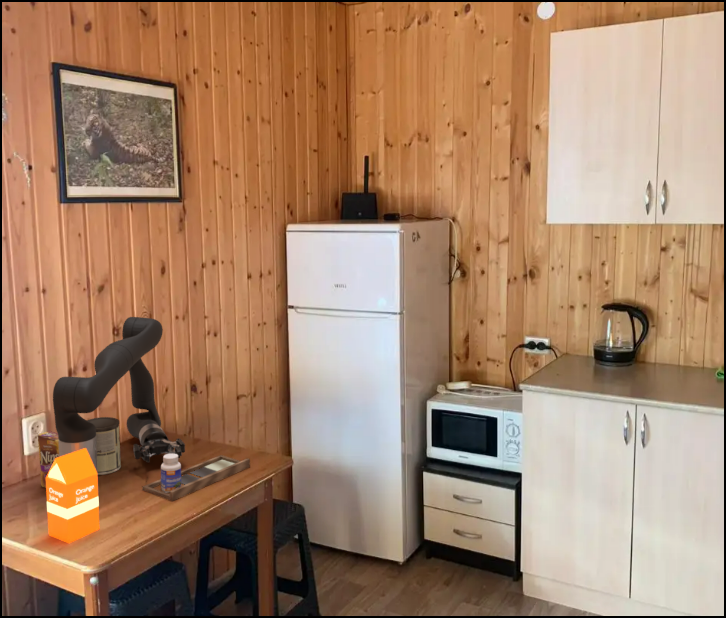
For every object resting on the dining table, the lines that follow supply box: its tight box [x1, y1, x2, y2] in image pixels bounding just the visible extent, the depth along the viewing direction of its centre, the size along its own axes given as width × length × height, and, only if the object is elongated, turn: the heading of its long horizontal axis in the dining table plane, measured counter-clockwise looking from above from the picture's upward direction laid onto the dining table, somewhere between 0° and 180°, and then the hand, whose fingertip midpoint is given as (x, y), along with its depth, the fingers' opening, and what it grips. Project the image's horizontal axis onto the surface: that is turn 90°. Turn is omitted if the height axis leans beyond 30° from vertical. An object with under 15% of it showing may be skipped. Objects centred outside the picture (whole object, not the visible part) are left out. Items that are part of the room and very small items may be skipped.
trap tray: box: [141, 454, 251, 502], centre depth 210 cm, size 30×12×2 cm, turn 146°
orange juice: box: [45, 448, 100, 544], centre depth 175 cm, size 8×9×20 cm
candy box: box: [37, 430, 59, 489], centre depth 200 cm, size 9×4×15 cm, turn 60°
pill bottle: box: [160, 453, 182, 494], centre depth 201 cm, size 5×5×10 cm
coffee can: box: [86, 416, 122, 476], centre depth 215 cm, size 10×10×14 cm
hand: (163, 456), depth 210 cm, fingers open, 8 cm apart
